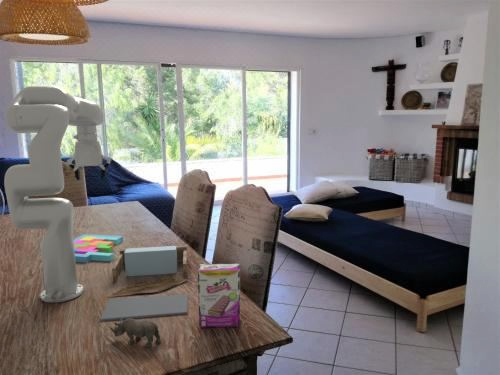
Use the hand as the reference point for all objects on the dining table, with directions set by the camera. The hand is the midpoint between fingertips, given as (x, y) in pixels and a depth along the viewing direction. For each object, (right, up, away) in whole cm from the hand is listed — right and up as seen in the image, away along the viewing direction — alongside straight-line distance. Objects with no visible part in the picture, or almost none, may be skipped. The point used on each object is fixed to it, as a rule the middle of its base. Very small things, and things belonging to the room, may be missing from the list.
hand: (90, 179), depth 166 cm
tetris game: (-1, -31, +5) cm, 32 cm away
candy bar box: (+58, -41, -57) cm, 91 cm away
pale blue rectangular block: (+31, -35, -20) cm, 50 cm away
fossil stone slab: (+33, -37, -34) cm, 60 cm away
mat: (+36, -39, -47) cm, 71 cm away
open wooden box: (+30, -34, -19) cm, 49 cm away
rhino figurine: (+37, -43, -65) cm, 86 cm away
